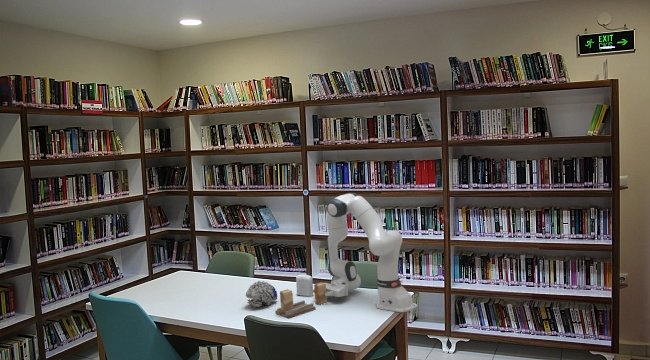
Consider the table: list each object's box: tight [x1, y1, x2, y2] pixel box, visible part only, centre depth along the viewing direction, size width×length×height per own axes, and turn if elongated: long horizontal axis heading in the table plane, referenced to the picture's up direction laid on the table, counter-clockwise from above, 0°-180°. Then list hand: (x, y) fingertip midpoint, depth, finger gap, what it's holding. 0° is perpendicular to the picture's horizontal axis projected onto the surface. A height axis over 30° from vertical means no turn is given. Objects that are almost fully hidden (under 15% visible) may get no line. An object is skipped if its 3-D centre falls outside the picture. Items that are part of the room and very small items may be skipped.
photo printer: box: [295, 273, 314, 298], centre depth 306 cm, size 10×4×12 cm, turn 61°
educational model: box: [245, 280, 278, 309], centre depth 292 cm, size 14×20×15 cm
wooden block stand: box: [274, 288, 317, 319], centre depth 278 cm, size 12×18×12 cm, turn 131°
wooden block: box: [313, 281, 328, 306], centre depth 289 cm, size 4×6×11 cm
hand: (319, 292), depth 289 cm, fingers open, 8 cm apart
